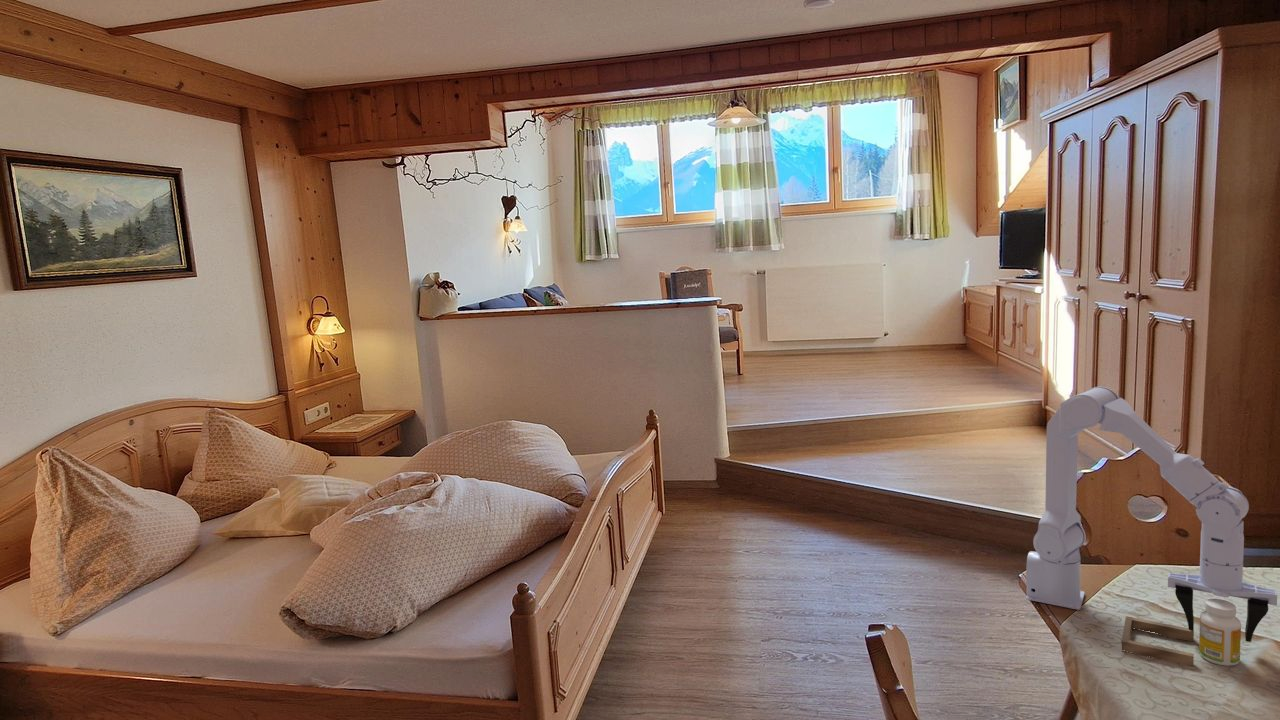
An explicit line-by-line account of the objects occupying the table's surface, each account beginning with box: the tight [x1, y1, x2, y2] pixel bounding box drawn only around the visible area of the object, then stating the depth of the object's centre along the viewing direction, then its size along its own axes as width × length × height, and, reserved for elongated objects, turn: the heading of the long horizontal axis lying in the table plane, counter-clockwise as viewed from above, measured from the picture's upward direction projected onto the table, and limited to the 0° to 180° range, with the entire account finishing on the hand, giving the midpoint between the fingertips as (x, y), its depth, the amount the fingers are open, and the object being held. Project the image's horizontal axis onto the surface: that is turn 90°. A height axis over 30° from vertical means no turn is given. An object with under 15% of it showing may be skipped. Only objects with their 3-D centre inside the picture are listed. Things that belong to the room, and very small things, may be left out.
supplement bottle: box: [1198, 598, 1242, 667], centre depth 121 cm, size 5×5×10 cm
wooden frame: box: [1121, 615, 1195, 667], centre depth 126 cm, size 10×10×2 cm
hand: (1219, 633), depth 124 cm, fingers open, 7 cm apart
